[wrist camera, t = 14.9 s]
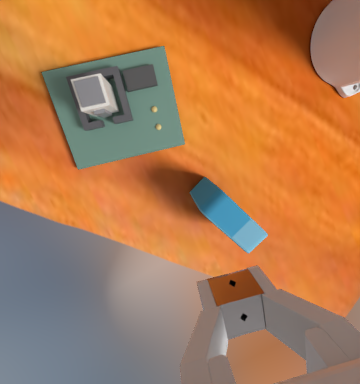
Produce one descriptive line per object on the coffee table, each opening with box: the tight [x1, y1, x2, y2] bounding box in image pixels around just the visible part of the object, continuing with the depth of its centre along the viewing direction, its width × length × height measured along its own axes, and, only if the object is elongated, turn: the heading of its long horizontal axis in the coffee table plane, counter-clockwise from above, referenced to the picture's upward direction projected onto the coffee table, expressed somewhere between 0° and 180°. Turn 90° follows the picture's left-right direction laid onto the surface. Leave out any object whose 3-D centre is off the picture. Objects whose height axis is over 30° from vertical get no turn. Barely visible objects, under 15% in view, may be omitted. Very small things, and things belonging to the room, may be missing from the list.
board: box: [42, 46, 185, 170], centre depth 34 cm, size 20×16×3 cm
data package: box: [190, 177, 268, 253], centre depth 36 cm, size 12×4×12 cm, turn 47°
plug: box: [71, 73, 119, 118], centre depth 30 cm, size 4×4×7 cm
